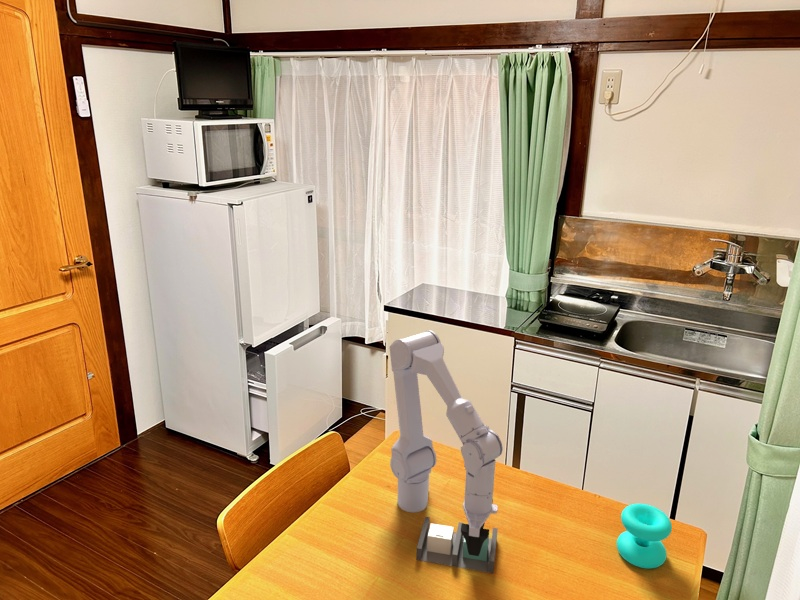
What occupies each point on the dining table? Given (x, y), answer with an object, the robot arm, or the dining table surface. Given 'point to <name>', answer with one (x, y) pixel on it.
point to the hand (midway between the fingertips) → (475, 541)
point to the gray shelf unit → (456, 551)
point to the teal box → (483, 551)
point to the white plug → (440, 539)
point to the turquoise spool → (644, 535)
